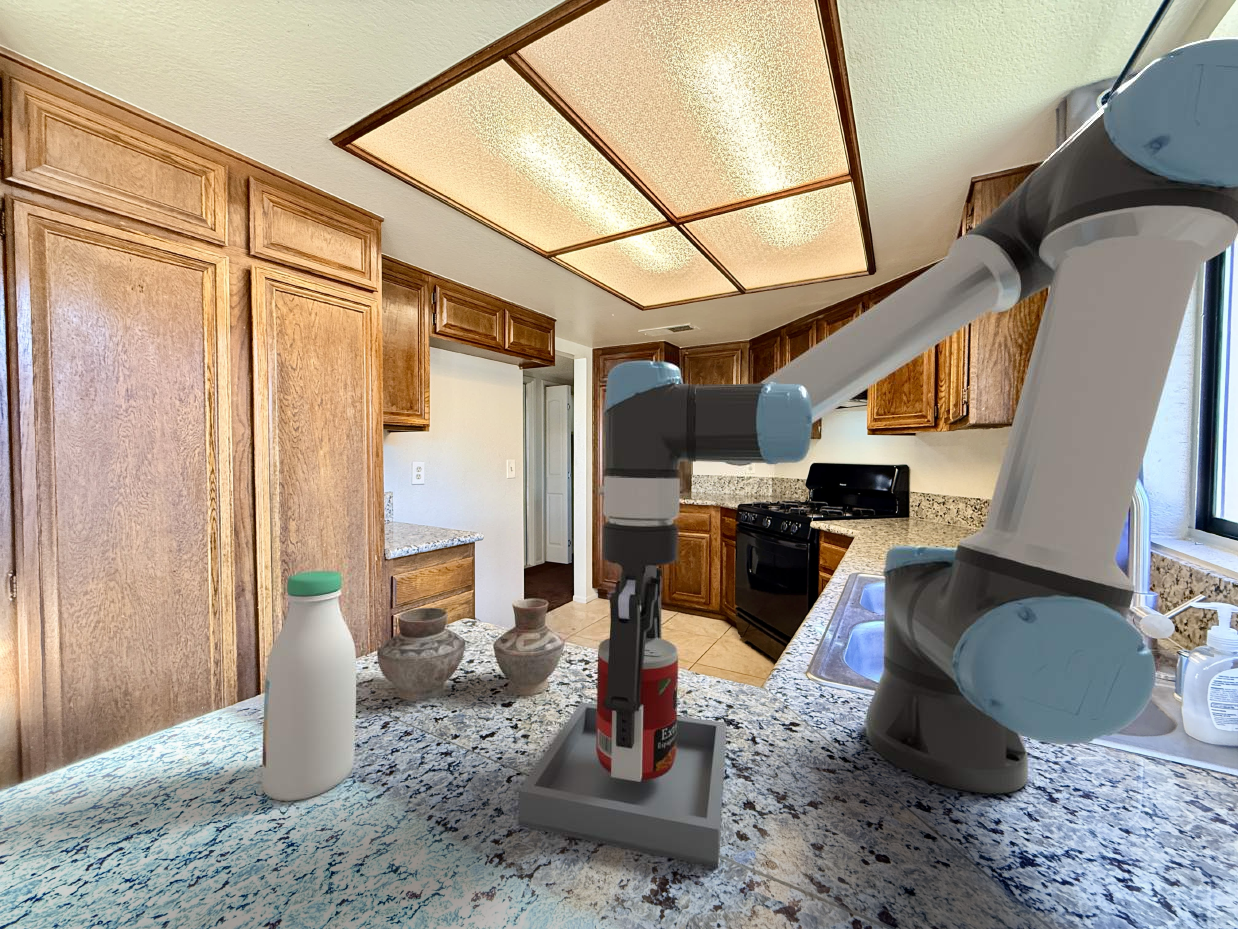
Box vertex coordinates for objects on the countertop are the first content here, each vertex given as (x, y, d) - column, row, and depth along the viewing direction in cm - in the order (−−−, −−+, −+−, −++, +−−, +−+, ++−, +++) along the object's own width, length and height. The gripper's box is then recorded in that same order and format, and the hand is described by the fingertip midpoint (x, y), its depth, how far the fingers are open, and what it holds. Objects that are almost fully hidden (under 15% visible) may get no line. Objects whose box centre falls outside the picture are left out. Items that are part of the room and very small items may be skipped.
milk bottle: (371, 762, 51) (376, 569, 52) (306, 811, 44) (312, 586, 44) (312, 749, 54) (317, 564, 54) (240, 794, 46) (246, 579, 46)
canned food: (672, 788, 44) (674, 665, 45) (586, 776, 46) (588, 657, 46) (679, 743, 52) (681, 637, 52) (605, 733, 54) (607, 631, 54)
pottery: (565, 704, 65) (567, 613, 66) (363, 715, 61) (365, 618, 62) (561, 669, 77) (563, 592, 77) (390, 677, 73) (392, 595, 73)
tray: (725, 749, 55) (726, 722, 55) (718, 868, 39) (718, 829, 39) (580, 727, 59) (581, 702, 59) (517, 825, 43) (518, 790, 43)
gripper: (627, 511, 60) (623, 700, 60) (569, 530, 40) (564, 814, 40) (689, 513, 58) (685, 708, 58) (661, 535, 38) (655, 832, 38)
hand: (636, 751), depth 49 cm, fingers closed on canned food, 8 cm apart
